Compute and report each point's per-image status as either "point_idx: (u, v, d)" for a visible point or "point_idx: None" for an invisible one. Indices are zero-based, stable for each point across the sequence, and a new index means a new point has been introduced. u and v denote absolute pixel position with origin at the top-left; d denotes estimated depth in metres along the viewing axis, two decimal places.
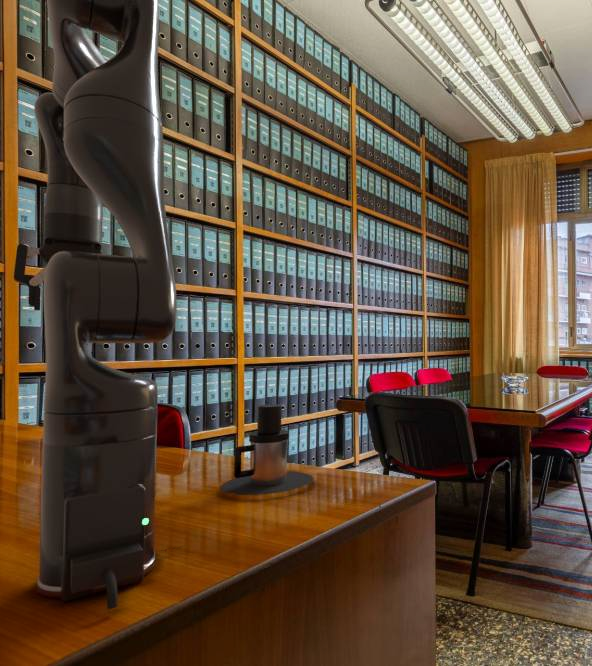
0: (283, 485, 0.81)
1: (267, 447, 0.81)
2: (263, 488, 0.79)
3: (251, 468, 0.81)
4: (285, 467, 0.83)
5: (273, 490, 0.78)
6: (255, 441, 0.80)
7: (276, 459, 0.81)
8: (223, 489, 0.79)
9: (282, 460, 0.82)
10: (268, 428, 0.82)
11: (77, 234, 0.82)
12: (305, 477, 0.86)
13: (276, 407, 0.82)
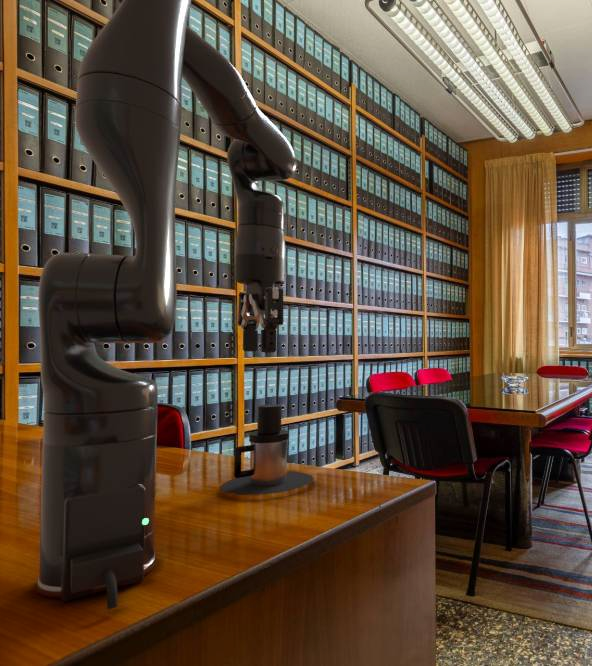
0: (283, 485, 0.81)
1: (267, 447, 0.81)
2: (263, 488, 0.79)
3: (251, 468, 0.81)
4: (285, 467, 0.83)
5: (273, 490, 0.78)
6: (255, 441, 0.80)
7: (276, 459, 0.81)
8: (223, 489, 0.79)
9: (282, 460, 0.82)
10: (268, 428, 0.82)
11: (236, 274, 0.81)
12: (305, 477, 0.86)
13: (276, 407, 0.82)
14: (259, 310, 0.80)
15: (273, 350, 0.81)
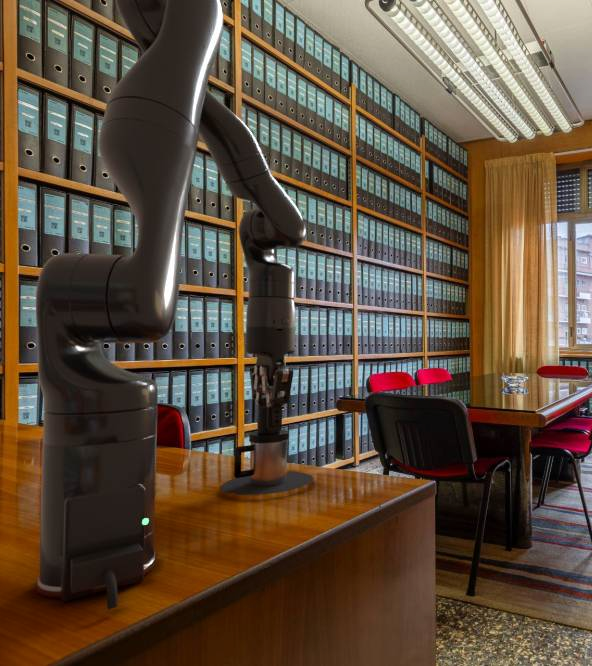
0: (283, 485, 0.81)
1: (267, 447, 0.81)
2: (263, 488, 0.79)
3: (251, 468, 0.81)
4: (285, 467, 0.83)
5: (273, 490, 0.78)
6: (255, 441, 0.80)
7: (276, 459, 0.81)
8: (223, 489, 0.79)
9: (282, 460, 0.82)
10: None
11: (247, 347, 0.81)
12: (305, 477, 0.86)
13: None
14: (267, 388, 0.81)
15: (279, 427, 0.82)
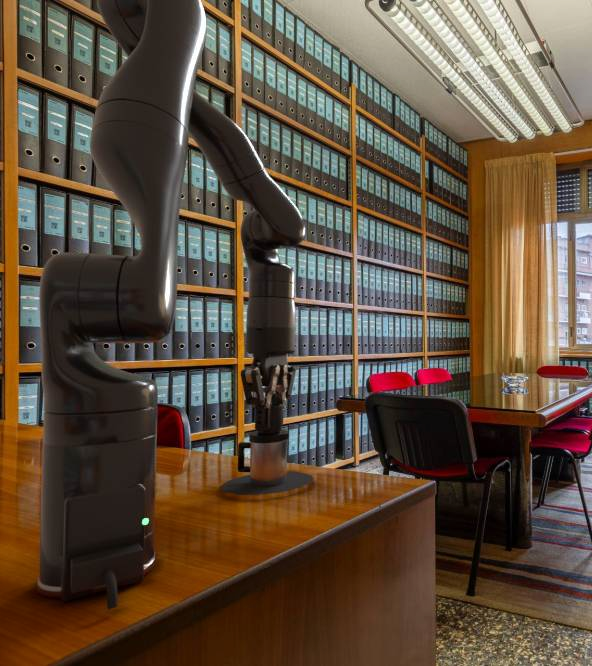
0: (283, 485, 0.81)
1: (254, 447, 0.81)
2: (263, 488, 0.79)
3: None
4: (274, 470, 0.81)
5: (273, 490, 0.78)
6: (249, 439, 0.82)
7: (260, 460, 0.80)
8: (223, 489, 0.79)
9: (268, 462, 0.81)
10: None
11: None
12: (305, 477, 0.86)
13: None
14: None
15: (265, 428, 0.81)
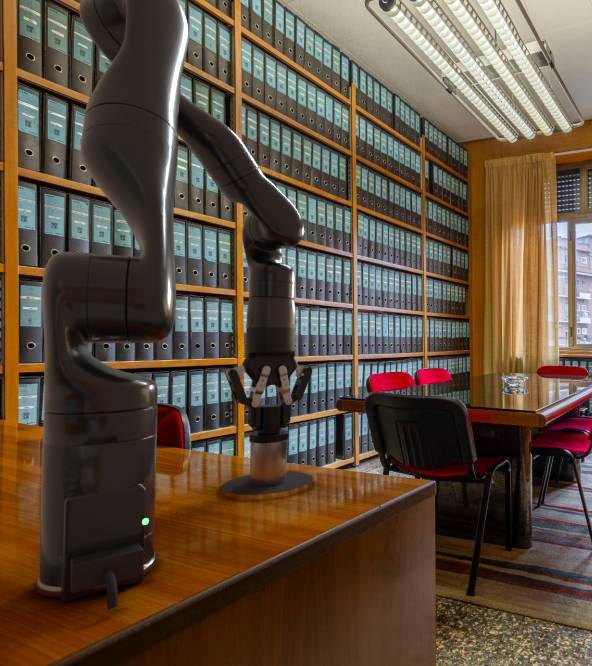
0: (283, 485, 0.81)
1: None
2: (263, 488, 0.79)
3: None
4: (261, 471, 0.80)
5: (273, 490, 0.78)
6: None
7: (251, 459, 0.81)
8: (223, 489, 0.79)
9: (255, 462, 0.80)
10: None
11: None
12: (305, 477, 0.86)
13: None
14: (251, 386, 0.82)
15: (255, 428, 0.81)
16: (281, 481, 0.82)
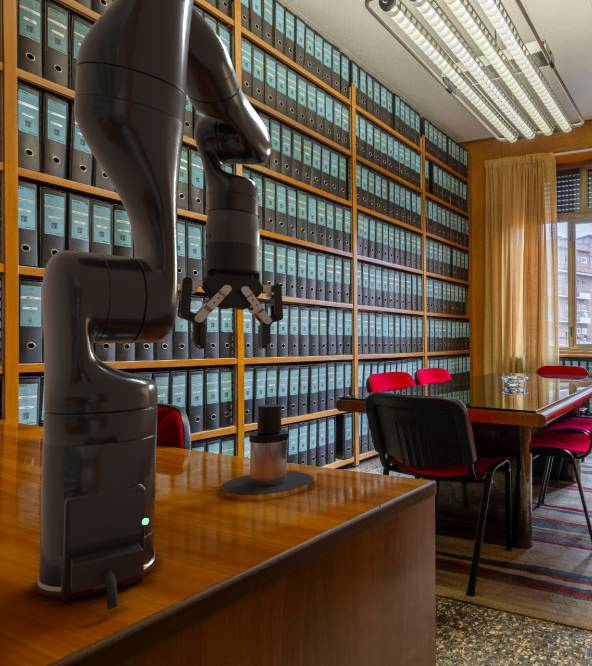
0: (283, 485, 0.81)
1: None
2: (263, 488, 0.79)
3: None
4: (261, 471, 0.80)
5: (273, 490, 0.78)
6: None
7: (251, 459, 0.81)
8: (223, 489, 0.79)
9: (255, 462, 0.80)
10: None
11: None
12: (305, 477, 0.86)
13: (259, 407, 0.82)
14: (203, 304, 0.75)
15: (199, 346, 0.73)
16: (281, 481, 0.82)
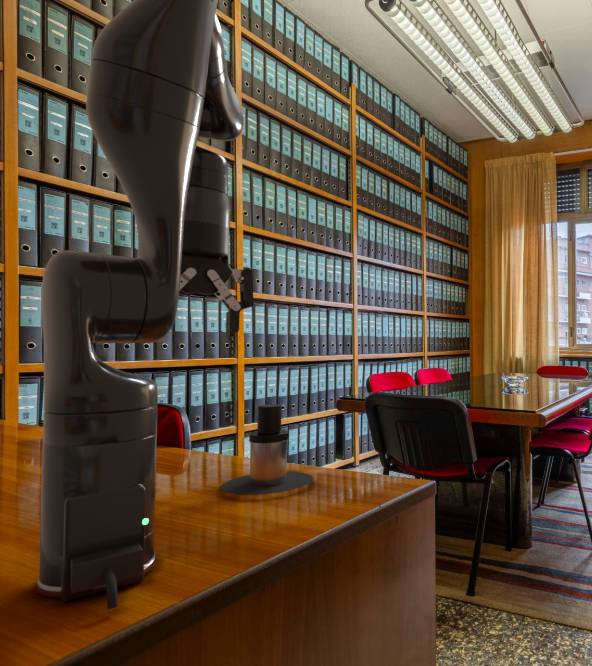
0: (283, 485, 0.81)
1: None
2: (263, 488, 0.79)
3: None
4: (261, 471, 0.80)
5: (273, 490, 0.78)
6: None
7: (251, 459, 0.81)
8: (223, 489, 0.79)
9: (255, 462, 0.80)
10: None
11: None
12: (305, 477, 0.86)
13: (259, 407, 0.82)
14: None
15: None
16: (281, 481, 0.82)
